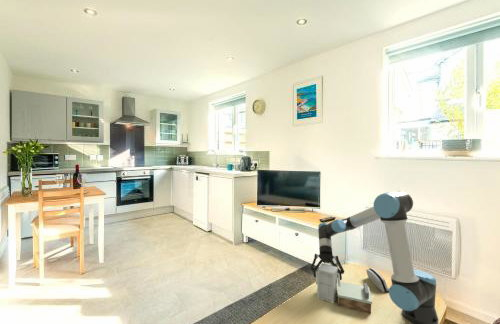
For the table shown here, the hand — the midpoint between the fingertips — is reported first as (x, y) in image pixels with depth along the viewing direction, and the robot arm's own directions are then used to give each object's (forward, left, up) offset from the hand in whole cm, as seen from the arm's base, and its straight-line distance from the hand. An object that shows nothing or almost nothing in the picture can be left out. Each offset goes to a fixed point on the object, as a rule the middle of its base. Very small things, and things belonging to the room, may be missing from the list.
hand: (328, 284), depth 137 cm
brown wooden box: (-14, -3, -8) cm, 16 cm away
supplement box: (0, -3, -9) cm, 9 cm away
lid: (-14, -3, -3) cm, 14 cm away
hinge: (-29, -28, -9) cm, 41 cm away
